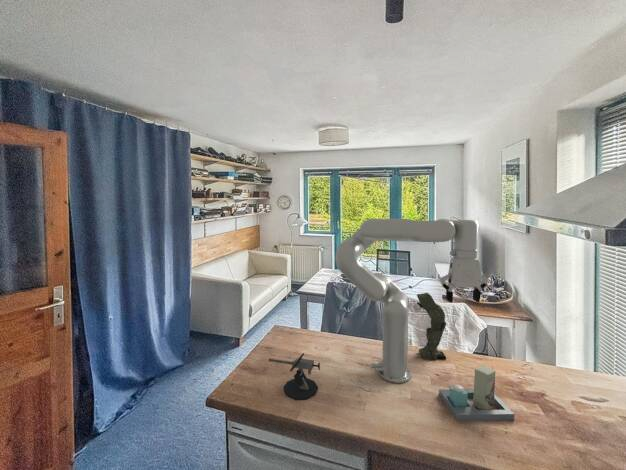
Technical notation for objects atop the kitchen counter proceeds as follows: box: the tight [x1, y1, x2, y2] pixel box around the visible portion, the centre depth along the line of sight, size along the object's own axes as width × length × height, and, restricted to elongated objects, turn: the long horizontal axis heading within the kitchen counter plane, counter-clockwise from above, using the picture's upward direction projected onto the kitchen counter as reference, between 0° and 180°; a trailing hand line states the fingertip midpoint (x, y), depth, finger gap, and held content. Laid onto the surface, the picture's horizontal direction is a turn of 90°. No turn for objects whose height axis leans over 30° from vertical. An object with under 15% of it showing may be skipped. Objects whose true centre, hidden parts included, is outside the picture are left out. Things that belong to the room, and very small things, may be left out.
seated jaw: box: [449, 384, 469, 407], centre depth 100 cm, size 4×4×7 cm
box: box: [472, 365, 496, 410], centre depth 100 cm, size 5×4×13 cm
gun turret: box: [268, 352, 321, 401], centre depth 111 cm, size 13×20×13 cm, turn 73°
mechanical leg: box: [416, 292, 447, 361], centre depth 133 cm, size 14×7×30 cm, turn 84°
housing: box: [438, 388, 515, 422], centre depth 101 cm, size 18×13×2 cm
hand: (462, 301), depth 110 cm, fingers open, 9 cm apart
